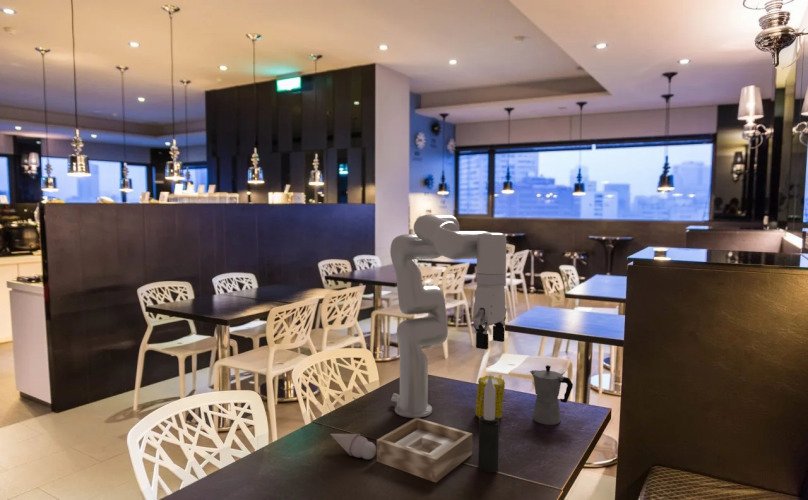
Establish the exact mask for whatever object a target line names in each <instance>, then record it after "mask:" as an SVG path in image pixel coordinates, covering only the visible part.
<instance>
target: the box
mask: <svg viewBox="0 0 808 500" xmlns="http://www.w3.org/2000/svg"><path fill="white" fill-rule="evenodd" d="M472 455H473V433H471V432H468V431H465V430H461V429H459V428H454V427H451V426H447V425H444V424H440V423H437V422H434V421H430V420H427V419H423V418H421V417H420V418H412V419H411V420H409V421H408V422H405V423H404V424H402V425H400V426H399V427H397V428H395V429H393V430H391V431H390V432H389V433H386V434H385V435H382V436H381V437H379V438H377V439H376V462H378V463H381V464H382V465H385V466H389V467H390V468H391V467H392V468H394V469H397V470H400V471H403V472H405V473H407V474H411V475H412V476H413V475H414V476H416V477H418V478H422V479H424V480H427V481H430V482H432V483H438V482H439V481H440V480H442V479H443V478H445V476H446V475H448V474H449V473H451V471H453V470H454V469H456V468H457V467H458V466H460V465H461V464H462V463H463V462H464V461H466V460H467V459H468V458H470V456H472Z"/></svg>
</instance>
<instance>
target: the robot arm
mask: <svg viewBox="0 0 808 500" xmlns="http://www.w3.org/2000/svg"><path fill="white" fill-rule="evenodd" d="M413 232H414V233H404V234H400V235H397V236H396V237H394V238H393V239H392V241H391V244H390V248H389V249H390V251H389V252H390V253H389V254H390V258H391V264H392V265H393V268H394V272H395V275H396V277H395V278H396V286H397V287H396V288H397V298H398V300H397V301H398V306H399V310H400V312H401V313H402V314H403V315H411V316H412V315H422V314H428V315H427V316H426V317H417V318H416V317H415V318H409V319H406V320H402V321H401V322H400V323H399V324H397V325H398V326H397V327H396V336H397V337H396V338H397V343H398V350H399V351H398V352H399V353H398V354H399V393H396V392H395V393H393V394H392V397H391V398H390V400H391V401H392V402H395V403H396V405H395V406H394V412H395V414H396V415H399V416H400V417H404V418H409V419H414V418H420V419H421V418H425V417H428V416H430V415H431V414H432V412H433V407H432V406H431V405H430V404H429V403H428V401H429V400H428V399H429V397H428V394H429V393H428V391H429V387H428V385H429V384H428V383H429V381H428V380H429V379H428V378H429V376H428V375H429V359H428V357H427V355H426V354H425V352H424V350H423V349H422V348H424V347H429V346H430V347H431V346H436V345H441V344H443V343H446V341H447V339H448V331H449V328H448V317H447V307H446V299H445V295H444V292H443V290H442V289H441V288H440V287H439V286H438V285H433V284H427V285H424V284H423V280H422V272H421V269H420V268H419V267H418V265H417V264H416V263H415V262H414V261H413V260H430V259H431V260H432V259H438V258H440V257H442V256H443V257H445V258H447V259H451V260H470V259H471V260H473V259H475V260H476V289H475V292H474V294H475V295H474V304H473V319H472V320H473V325H474V326H473V328H474V332H475V348H476V349H481V350H488V349H489V333H488V331H489V327H490V326H492V341H495V342H500V343H501V342H502V343H503V342H505V328H506V319H507V316H506V315H507V312H508V311H507V310H508V309H507V308H506V291H505V287H506V286H507V281H506V280H507V237H506V235H505V234H504V233H501V232H489V231H485V230H460V223H459V220H458V219H457V218H456V217H455V216H453V215H451V214H424V215H421V216H420V217H418V218H417V219H416V220H415V222H414V224H413ZM391 401H390V402H391Z"/></svg>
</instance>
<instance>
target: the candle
mask: <svg viewBox="0 0 808 500" xmlns="http://www.w3.org/2000/svg"><path fill="white" fill-rule="evenodd" d="M487 376H488V377H489V379H488V382H487V385H486V386H485V387H484V415H483V416H481V417H480V418H479V422H478V458H477V459H478V461H477V462H478V467H477V468H478V471H480V472H484V473H485V472H486V473H497V472H499V445H500V444H499V441H500V440H499V439H500V437H499V436H500V418H497V417H496V416H495V387H494V385H493V383H492V379H491V378H492V376H493V375H487Z"/></svg>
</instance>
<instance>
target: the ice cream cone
mask: <svg viewBox="0 0 808 500" xmlns="http://www.w3.org/2000/svg"><path fill="white" fill-rule="evenodd" d="M330 436H332V438H333V439H334V440H335V441H336V443H338V444H339V445H340V447H341V448H342V449H344V451H345V452H346V453H347V454H348V455H349V456H351V457H355V458H362V459H364V460H371V459H373V458H374V457H375V456H376V455H377V445H375V443H374V442H372V441H369V440H368V438H366V436H362V435H361V434H360V433H330Z"/></svg>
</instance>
